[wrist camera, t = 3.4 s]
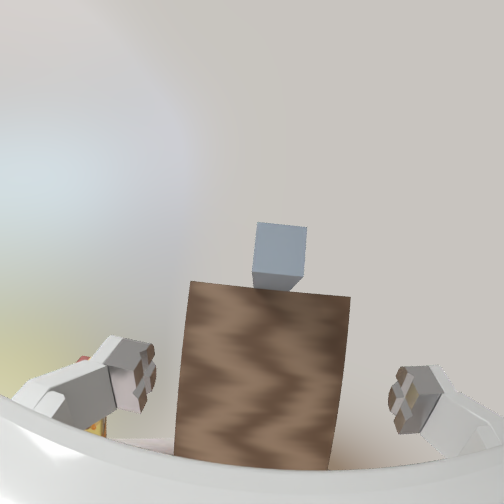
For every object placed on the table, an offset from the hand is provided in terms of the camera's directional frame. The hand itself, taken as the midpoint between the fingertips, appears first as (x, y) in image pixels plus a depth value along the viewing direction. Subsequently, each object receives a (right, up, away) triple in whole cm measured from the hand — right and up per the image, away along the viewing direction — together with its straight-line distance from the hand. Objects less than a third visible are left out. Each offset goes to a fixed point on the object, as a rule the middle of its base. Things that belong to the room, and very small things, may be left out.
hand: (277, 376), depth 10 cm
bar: (+1, 0, +22) cm, 22 cm away
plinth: (-2, -26, +19) cm, 32 cm away
